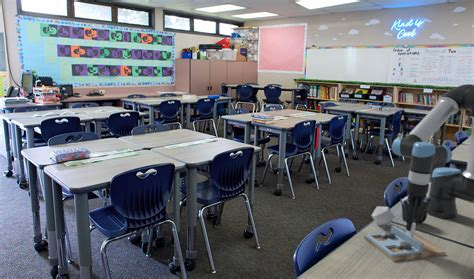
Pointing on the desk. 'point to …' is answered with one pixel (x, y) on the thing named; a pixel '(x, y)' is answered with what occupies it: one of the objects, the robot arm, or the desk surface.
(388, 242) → the panel
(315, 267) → the desk surface
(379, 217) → the die
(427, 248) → the board
